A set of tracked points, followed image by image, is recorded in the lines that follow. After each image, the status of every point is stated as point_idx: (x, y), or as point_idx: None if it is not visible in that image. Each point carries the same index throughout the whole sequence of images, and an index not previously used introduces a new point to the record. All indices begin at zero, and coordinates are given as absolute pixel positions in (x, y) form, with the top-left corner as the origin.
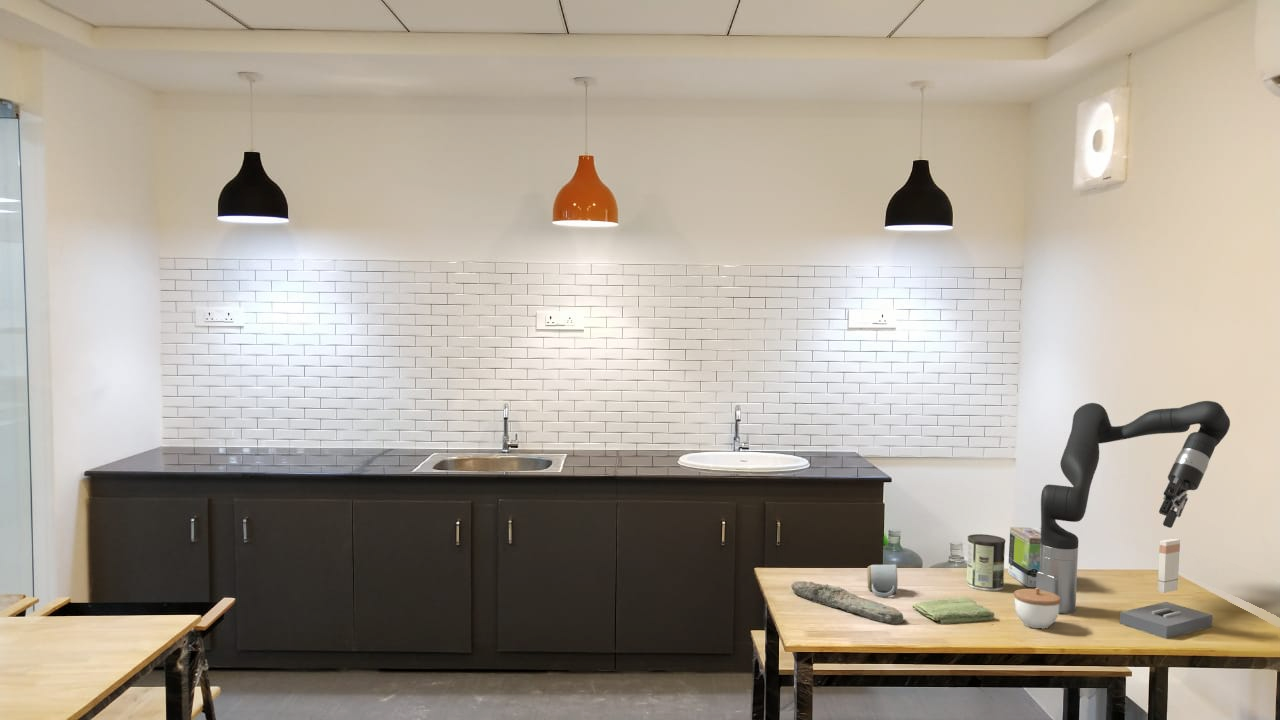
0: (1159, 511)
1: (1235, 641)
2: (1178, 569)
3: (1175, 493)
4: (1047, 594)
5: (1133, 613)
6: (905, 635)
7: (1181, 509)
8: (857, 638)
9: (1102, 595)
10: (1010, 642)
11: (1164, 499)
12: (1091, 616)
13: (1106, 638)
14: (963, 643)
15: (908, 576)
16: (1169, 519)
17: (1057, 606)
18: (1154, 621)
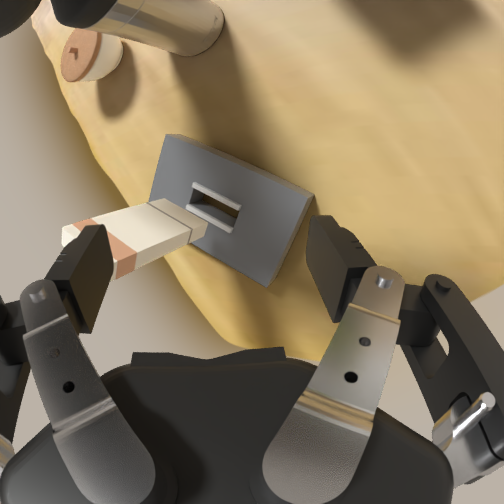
0: (87, 228)
1: (216, 304)
2: (171, 251)
3: (10, 377)
4: (80, 58)
5: (173, 154)
6: (48, 21)
7: (418, 379)
8: (37, 13)
9: (362, 55)
10: (62, 78)
11: (40, 286)
12: (189, 84)
13: (113, 142)
14: (48, 57)
15: None
16: (322, 264)
17: (79, 81)
18: (155, 194)
